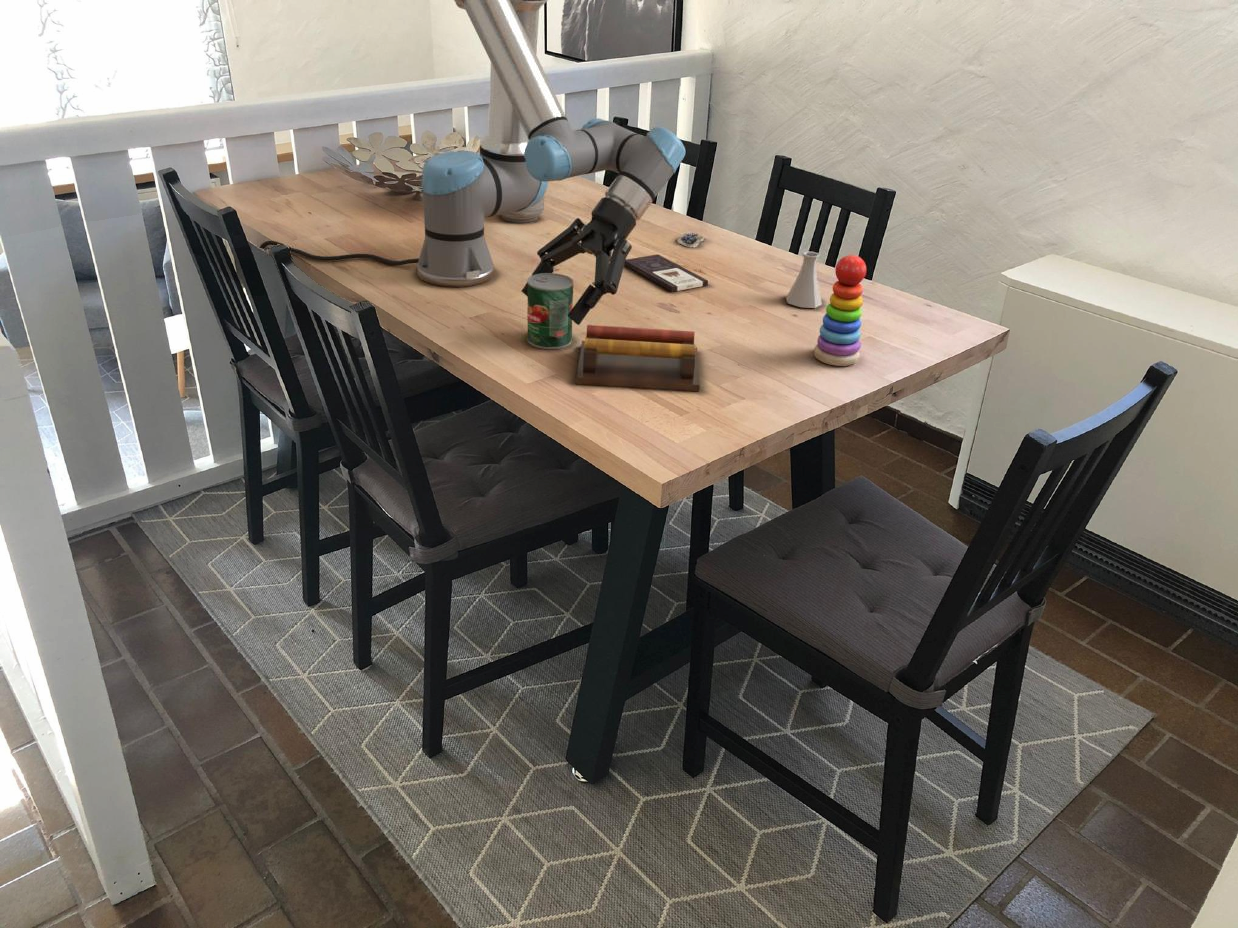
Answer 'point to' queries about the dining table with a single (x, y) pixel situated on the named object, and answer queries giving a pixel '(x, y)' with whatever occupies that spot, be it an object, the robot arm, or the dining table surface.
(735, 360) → the dining table surface
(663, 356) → the rod stand
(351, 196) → the dining table surface
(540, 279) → the canned tomato
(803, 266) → the flask
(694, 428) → the dining table surface
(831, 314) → the stacking toy
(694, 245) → the blueberries
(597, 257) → the robot arm
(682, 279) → the chocolate bar
